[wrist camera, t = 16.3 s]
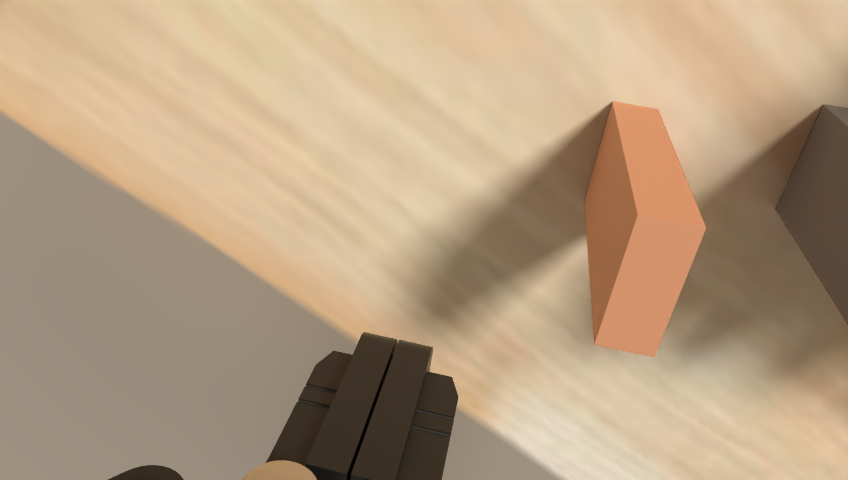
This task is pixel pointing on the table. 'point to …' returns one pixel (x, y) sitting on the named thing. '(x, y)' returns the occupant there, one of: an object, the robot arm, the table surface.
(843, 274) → the domino
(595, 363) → the table surface
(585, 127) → the table surface
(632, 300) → the domino
